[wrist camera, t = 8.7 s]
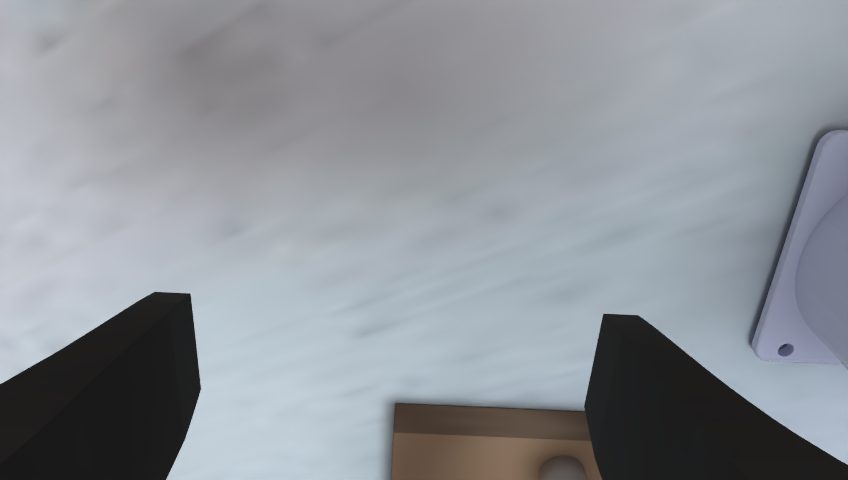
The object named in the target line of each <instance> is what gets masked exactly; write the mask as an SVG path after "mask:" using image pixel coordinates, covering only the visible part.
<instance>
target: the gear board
mask: <svg viewBox="0 0 848 480" xmlns="http://www.w3.org/2000/svg"><path fill="white" fill-rule="evenodd" d="M391 480H602V478H601V475H600V472H599V469H598V466H597V463H596V460H595V457H594V452H593V448H592V443H591V438H590V434H589V428H588V423H587V417H586V412H573V411H551V410H528V409H505V408H483V407H460V406H438V405H415V404H395V417H394V435H393V455H392V475H391Z"/></svg>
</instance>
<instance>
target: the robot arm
mask: <svg viewBox="0 0 848 480" xmlns="http://www.w3.org/2000/svg"><path fill="white" fill-rule="evenodd" d="M784 344H787V346H786V347H785V348H783V349H780V350H778V349H779V348H780V346H782V345H784ZM752 350H753V352H754V353H755V354H756V356H757V357H758V358H760V359H761V360H765V361H782V362H803V363H824V364H843V365H844V366H845V367H846V368H847V369H848V130H834V131H831V132H829V133H827V134H825V135H824V136H823V137H822V138H821V139H820V141H819V142H818V144H817V147H816V150H815V153H814V156H813V159H812V162H811V165H810V168H809V171H808V174H807V177H806V180H805V183H804V186H803V189H802V192H801V195H800V198H799V201H798V204H797V207H796V210H795V213H794V216H793V219H792V223H791V226H790V229H789V232H788V235H787V238H786V241H785V244H784V247H783V250H782V253H781V256H780V259H779V262H778V265H777V268H776V271H775V274H774V277H773V280H772V283H771V286H770V289H769V292H768V295H767V298H766V302H765V305H764V308H763V311H762V314H761V317H760V320H759V323H758V326H757V329H756V332H755V335H754V338H753V341H752ZM200 390H201V386H200V377H199V368H198V358H197V349H196V340H195V331H194V322H193V313H192V304H191V295H190V294H186V293H165V292H154V293H152V294H150V295H148V296H146V297H145V298H143V299H141V300H140V301H138V302H136V303H135V304H133V305H131V306H130V307H128V308H127V309H125V310H123V311H122V312H120V313H119V314H117V315H116V316H114V317H112V318H111V319H109V320H108V321H106V322H105V323H103V324H101V325H100V326H98V327H97V328H95V329H93V330H92V331H90V332H89V333H87V334H85V335H84V336H82V337H81V338H79V339H77V340H76V341H74V342H73V343H71V344H69V345H68V346H66V347H65V348H63V349H61V350H60V351H58V352H56V353H54V354H53V355H51V356H49V357H47V358H46V359H44V360H42V361H40V362H39V363H37V364H35V365H33V366H32V367H30V368H28V369H26V370H25V371H23V372H21V373H19V374H18V375H16V376H14V377H12V378H11V379H9V380H7V381H5V382H4V383H2V384H0V480H166V478H167V476H168V474H169V472H170V470H171V468H172V466H173V464H174V462H175V459H176V457H177V455H178V453H179V451H180V449H181V447H182V444H183V442H184V440H185V437H186V434H187V431H188V428H189V425H190V422H191V419H192V416H193V413H194V410H195V406H196V403H197V400H198V397H199V393H200ZM584 407H585V412H586V417H587V423H588V428H589V434H590V438H591V443H592V448H593V452H594V457H595V460H596V463H597V466H598V469H599V472H600V475H601V478H602V480H848V465H847V464H845V463H843V462H841V461H840V460H838V459H836V458H835V457H833V456H831V455H830V454H828V453H826V452H825V451H823V450H821V449H820V448H818V447H817V446H815V445H813V444H812V443H810V442H808V441H807V440H805V439H803V438H802V437H800V436H798V435H797V434H795V433H794V432H792V431H791V430H789V429H788V428H786V427H785V426H783V425H782V424H780V423H779V422H777V421H776V420H774V419H773V418H771V417H770V416H769V415H767V414H766V413H764V412H763V411H761V410H760V409H759V408H757V407H756V406H754V405H753V404H752V403H750V402H749V401H747V400H746V399H745V398H743V397H742V396H740V395H739V394H738V393H736V392H735V391H734V390H732V389H731V388H730V387H728V386H727V385H726V384H725V383H723V382H722V381H721V380H719V379H718V378H717V377H715V376H714V375H713V374H712V373H710V372H709V371H708V370H707V369H705V368H704V367H703V366H702V365H700V364H699V363H698V362H697V361H695V360H694V359H693V358H692V357H690V356H689V355H688V354H687V353H685V352H684V351H683V350H682V349H681V348H679V347H678V346H677V345H676V344H674V343H673V342H672V341H671V340H670V339H668V338H667V337H666V336H665V335H663V334H662V333H661V332H660V331H658V330H657V329H656V328H655V327H653V326H652V325H651V324H649V323H648V322H647V321H645V320H644V319H642V318H641V317H640V316H638V315H618V314H603V319H602V323H601V328H600V333H599V338H598V343H597V348H596V352H595V357H594V362H593V367H592V372H591V377H590V381H589V386H588V391H587V396H586V401H585V405H584Z"/></svg>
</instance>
